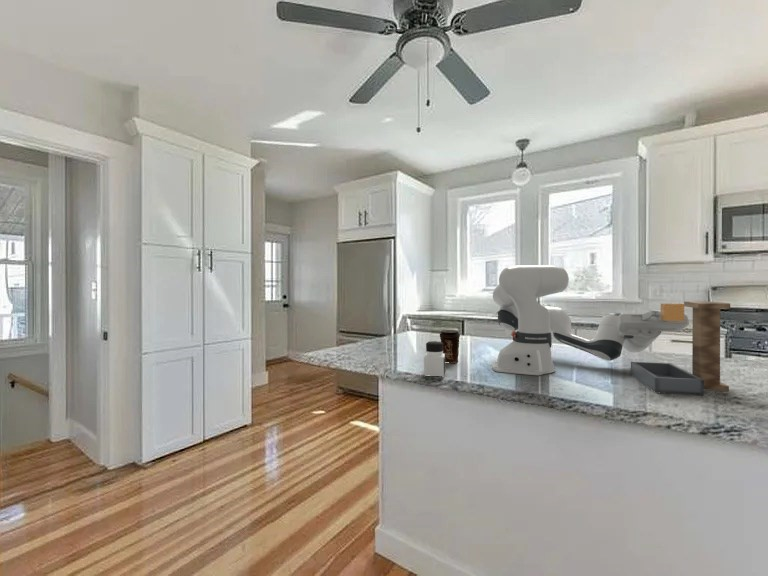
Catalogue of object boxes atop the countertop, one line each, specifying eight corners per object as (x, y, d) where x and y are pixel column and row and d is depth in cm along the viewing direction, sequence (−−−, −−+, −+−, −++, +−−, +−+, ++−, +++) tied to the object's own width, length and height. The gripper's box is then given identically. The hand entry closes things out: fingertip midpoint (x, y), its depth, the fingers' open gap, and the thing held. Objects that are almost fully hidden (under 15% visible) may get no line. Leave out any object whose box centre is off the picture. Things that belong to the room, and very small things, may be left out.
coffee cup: (439, 359, 166) (439, 329, 166) (459, 359, 165) (459, 329, 165) (440, 364, 158) (439, 332, 157) (461, 364, 157) (460, 332, 156)
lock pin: (664, 320, 117) (664, 304, 117) (646, 315, 131) (646, 300, 131) (684, 320, 116) (684, 304, 115) (663, 315, 130) (663, 300, 130)
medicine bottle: (444, 377, 137) (443, 343, 137) (424, 376, 138) (423, 343, 138) (445, 372, 144) (444, 340, 144) (426, 372, 145) (425, 339, 145)
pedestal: (697, 389, 117) (698, 303, 117) (683, 382, 126) (684, 301, 125) (729, 391, 115) (730, 303, 114) (713, 383, 124) (713, 301, 123)
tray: (655, 392, 115) (655, 377, 115) (630, 374, 136) (630, 361, 136) (703, 395, 112) (704, 379, 112) (670, 376, 133) (670, 363, 133)
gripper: (681, 338, 134) (699, 321, 123) (615, 336, 140) (625, 321, 128) (677, 321, 137) (694, 303, 126) (612, 320, 143) (622, 303, 131)
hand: (659, 312), depth 127 cm, fingers closed on lock pin
